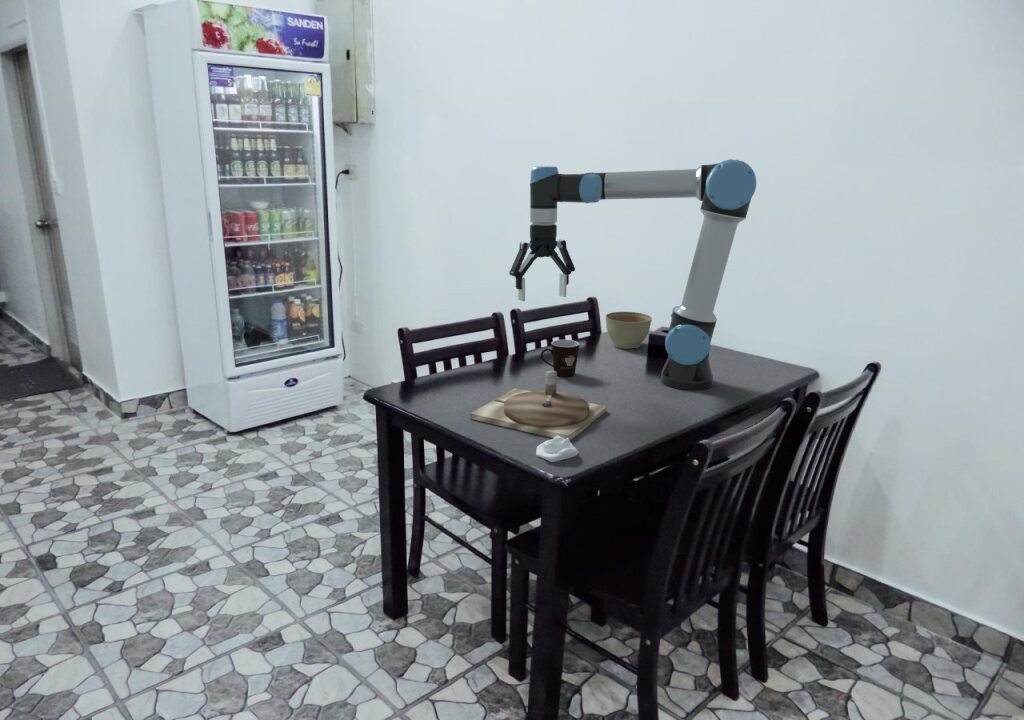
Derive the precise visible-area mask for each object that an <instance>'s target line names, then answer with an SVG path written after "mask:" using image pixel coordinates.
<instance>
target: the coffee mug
mask: <svg viewBox="0 0 1024 720" xmlns="http://www.w3.org/2000/svg"><path fill="white" fill-rule="evenodd" d="M550 345H551V349H550V348H545V349H543V350H542V351H541V352H540V358H541V360H542V362H545V363H546V364H547V365H549V366H550V367H552V368H553V371H556V372H557V378H567V379H568V378H572V377H575V375H576V370H577V369H576V368H577V362H578V356H579V350H580V342H578V341H576V340H571V339H556V340H553V341H551V343H550ZM547 351H549V352H550V353H551V355H552V364H551V362H549V361H547V360H546V359H544V357H543V355H544V354H545V352H547Z"/></svg>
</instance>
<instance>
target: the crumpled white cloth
mask: <svg viewBox="0 0 1024 720" xmlns="http://www.w3.org/2000/svg"><path fill="white" fill-rule="evenodd" d="M535 451H536V452H535V456H536V457H539V458H540V459H544V460H546V461H548V462H551V463H555V462H558V461H563V460H565V459H571V458H574V457H576V456H577V455H578V454H579V450H578V449H577V448H576V447H575V446H574V445H573V443H572V442H571V440H570V441H569V439H568V438H567V439H565V438H562V437H560V436H555V437H554V438H552V439H547V440H545V441H544V442H542V443H540V444H539V445H537V447H536V450H535Z"/></svg>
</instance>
